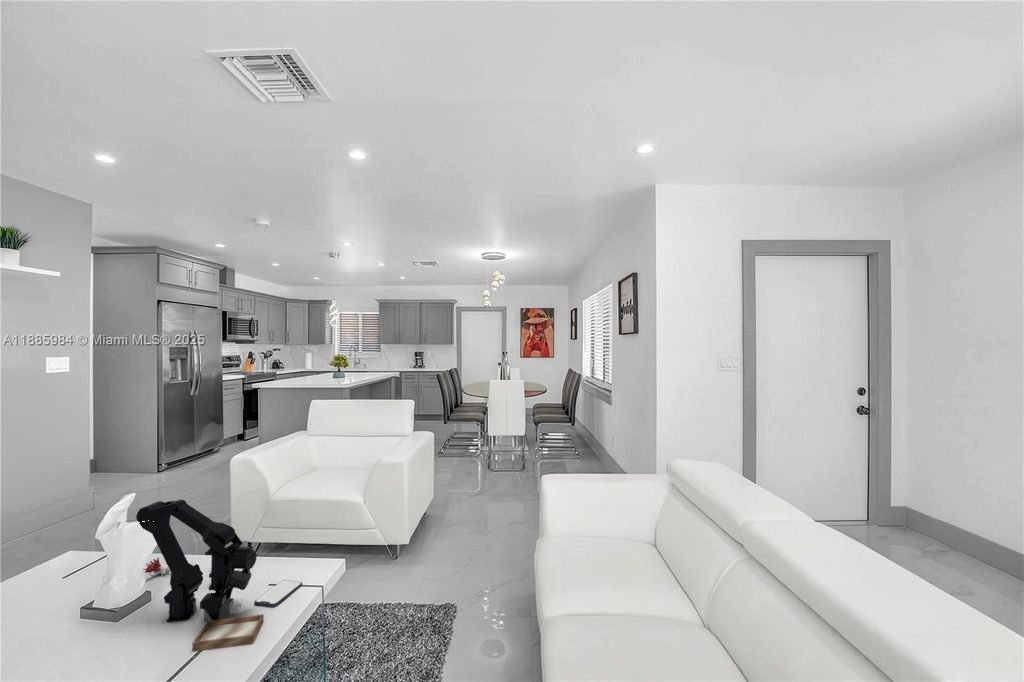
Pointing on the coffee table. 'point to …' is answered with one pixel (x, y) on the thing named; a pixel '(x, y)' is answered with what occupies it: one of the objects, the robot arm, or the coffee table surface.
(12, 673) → the coffee table surface
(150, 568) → the figurine
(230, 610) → the plug
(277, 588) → the phone case
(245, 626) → the tray
